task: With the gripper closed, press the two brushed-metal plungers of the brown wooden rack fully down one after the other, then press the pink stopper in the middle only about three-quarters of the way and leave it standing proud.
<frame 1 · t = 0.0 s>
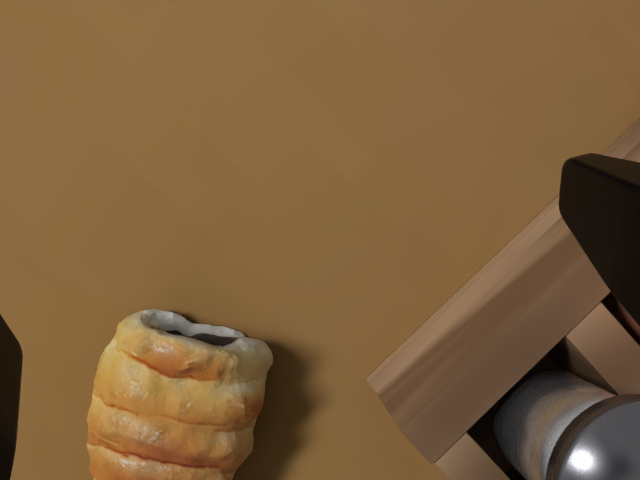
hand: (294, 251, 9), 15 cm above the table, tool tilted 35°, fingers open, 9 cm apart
plunger 1: (588, 452, 18), point 7 cm above the table, slide at 0.0 cm
brown wooden rack: (604, 288, 25), on the table
pastry: (185, 405, 24), on the table
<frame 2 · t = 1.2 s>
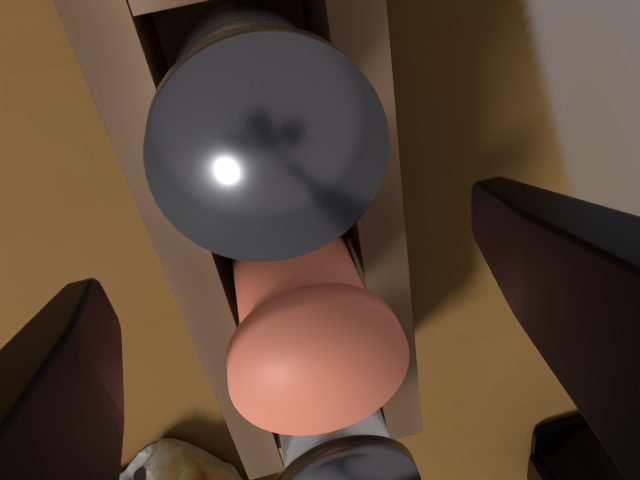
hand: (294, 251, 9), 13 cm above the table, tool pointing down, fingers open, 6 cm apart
plunger 1: (332, 432, 21), point 7 cm above the table, slide at 0.0 cm
brown wooden rack: (273, 200, 23), on the table
pastry: (185, 475, 32), on the table
plunger 2: (256, 111, 14), point 7 cm above the table, slide at 0.0 cm
pink stopper: (302, 306, 17), point 7 cm above the table, slide at 0.0 cm
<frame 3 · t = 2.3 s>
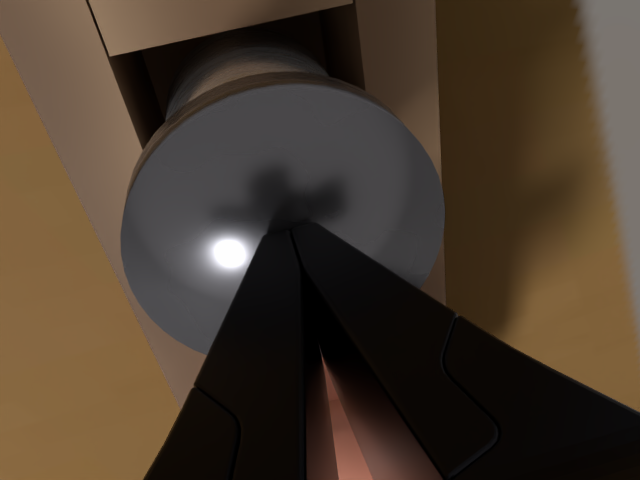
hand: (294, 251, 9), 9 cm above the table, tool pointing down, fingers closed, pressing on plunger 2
brown wooden rack: (284, 249, 20), on the table
plunger 2: (267, 167, 11), point 6 cm above the table, slide at 0.6 cm, touching gripper
pink stopper: (324, 399, 14), point 7 cm above the table, slide at 0.0 cm
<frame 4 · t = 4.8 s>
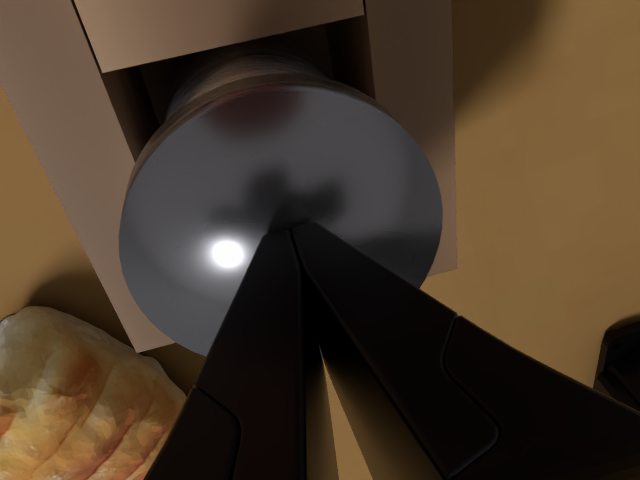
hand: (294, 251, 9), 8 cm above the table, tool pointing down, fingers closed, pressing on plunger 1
plunger 1: (266, 168, 11), point 5 cm above the table, slide at 1.5 cm, touching gripper
pastry: (84, 379, 21), on the table
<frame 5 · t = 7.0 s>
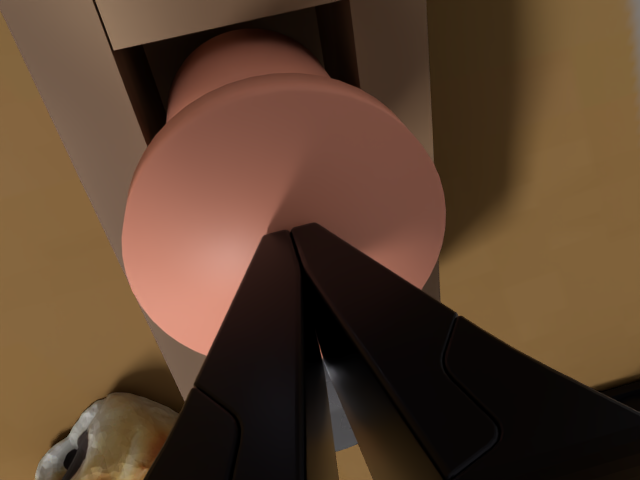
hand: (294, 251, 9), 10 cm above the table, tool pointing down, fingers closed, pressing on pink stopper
plunger 1: (304, 320, 17), point 4 cm above the table, slide at 2.5 cm
brown wooden rack: (239, 67, 17), on the table
pastry: (150, 442, 25), on the table
pink stopper: (268, 168, 11), point 7 cm above the table, slide at 0.0 cm, touching gripper
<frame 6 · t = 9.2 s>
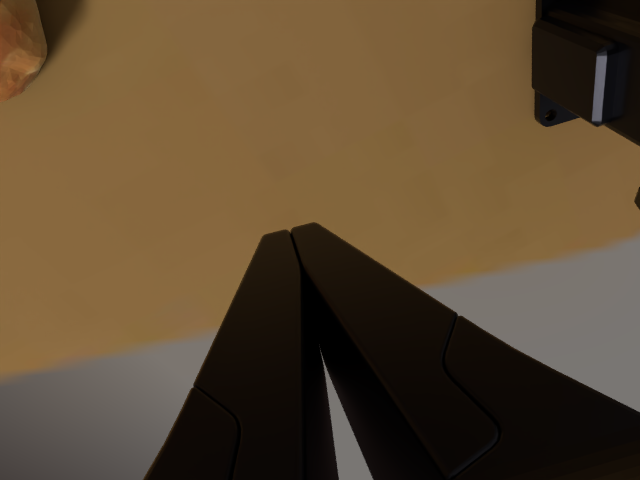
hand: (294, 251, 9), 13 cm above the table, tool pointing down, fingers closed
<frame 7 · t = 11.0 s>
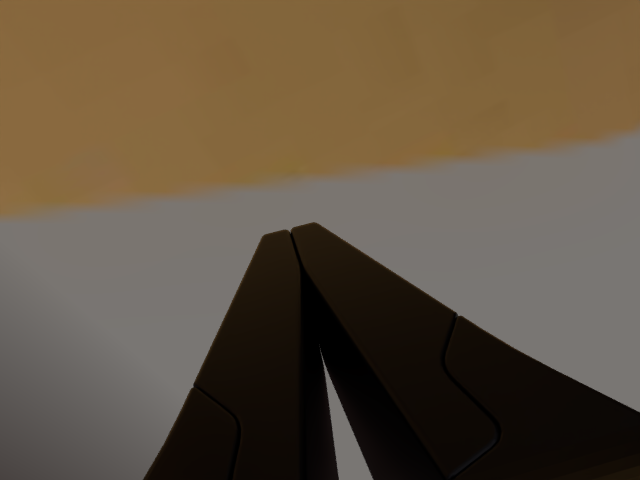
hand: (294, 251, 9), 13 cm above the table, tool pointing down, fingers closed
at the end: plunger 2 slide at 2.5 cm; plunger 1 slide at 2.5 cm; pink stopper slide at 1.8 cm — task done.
